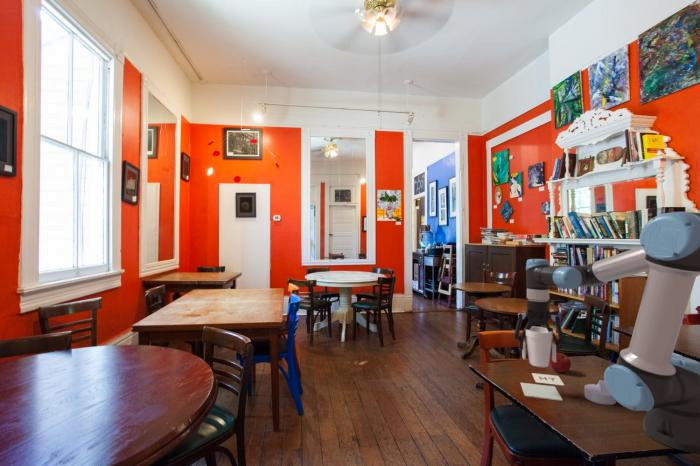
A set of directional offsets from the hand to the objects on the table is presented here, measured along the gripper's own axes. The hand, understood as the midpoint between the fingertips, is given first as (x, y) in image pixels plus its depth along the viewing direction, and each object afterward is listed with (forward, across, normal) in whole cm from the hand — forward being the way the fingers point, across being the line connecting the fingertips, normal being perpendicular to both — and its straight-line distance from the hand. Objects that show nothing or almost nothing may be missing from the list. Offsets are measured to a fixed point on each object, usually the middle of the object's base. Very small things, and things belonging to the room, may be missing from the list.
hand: (538, 359), depth 128 cm
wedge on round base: (+12, -21, 0) cm, 24 cm away
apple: (+12, -12, -25) cm, 30 cm away
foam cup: (+2, 0, 0) cm, 2 cm away
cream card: (+12, -5, -14) cm, 19 cm away
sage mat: (+12, 0, 0) cm, 12 cm away
